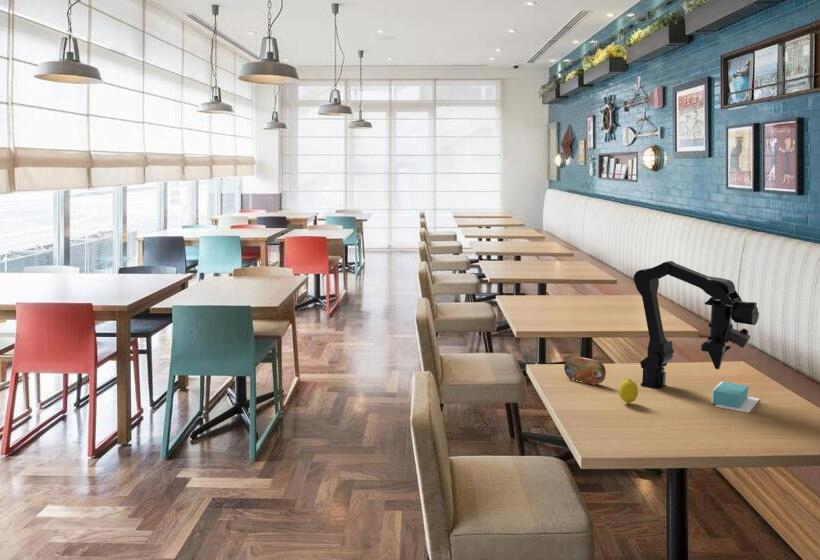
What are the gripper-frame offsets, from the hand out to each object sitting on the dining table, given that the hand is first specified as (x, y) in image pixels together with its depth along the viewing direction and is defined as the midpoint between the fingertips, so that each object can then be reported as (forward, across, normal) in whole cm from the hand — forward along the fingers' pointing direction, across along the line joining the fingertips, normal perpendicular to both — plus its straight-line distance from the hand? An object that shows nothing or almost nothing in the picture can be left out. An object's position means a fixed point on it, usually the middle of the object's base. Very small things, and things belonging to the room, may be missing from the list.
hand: (717, 368), depth 225 cm
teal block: (+8, 0, 0) cm, 8 cm away
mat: (+10, 0, -7) cm, 12 cm away
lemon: (+10, -21, +21) cm, 31 cm away
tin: (+10, -7, +41) cm, 42 cm away
